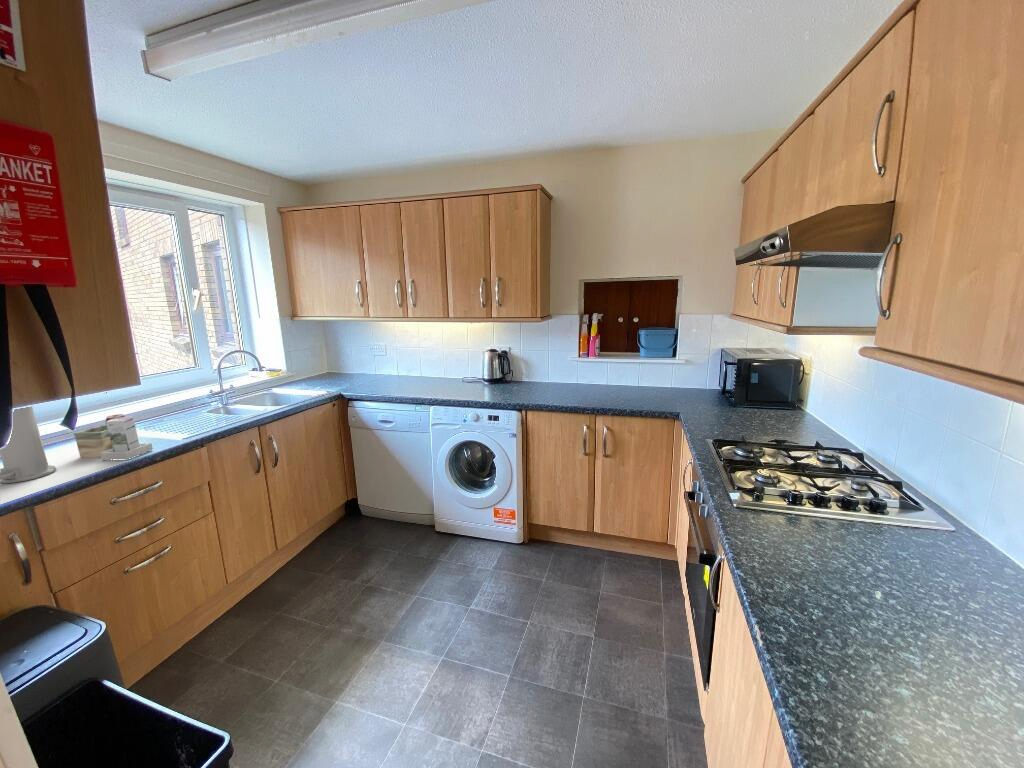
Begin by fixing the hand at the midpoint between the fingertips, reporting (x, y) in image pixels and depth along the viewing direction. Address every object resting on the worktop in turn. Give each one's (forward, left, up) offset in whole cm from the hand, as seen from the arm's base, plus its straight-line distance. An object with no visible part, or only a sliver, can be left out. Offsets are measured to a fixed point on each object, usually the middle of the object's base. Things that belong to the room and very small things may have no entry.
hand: (116, 390), depth 157 cm
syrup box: (-2, -2, -25) cm, 25 cm away
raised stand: (+1, +11, -25) cm, 27 cm away
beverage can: (+11, +15, -25) cm, 31 cm away
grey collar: (-2, -2, -25) cm, 25 cm away
